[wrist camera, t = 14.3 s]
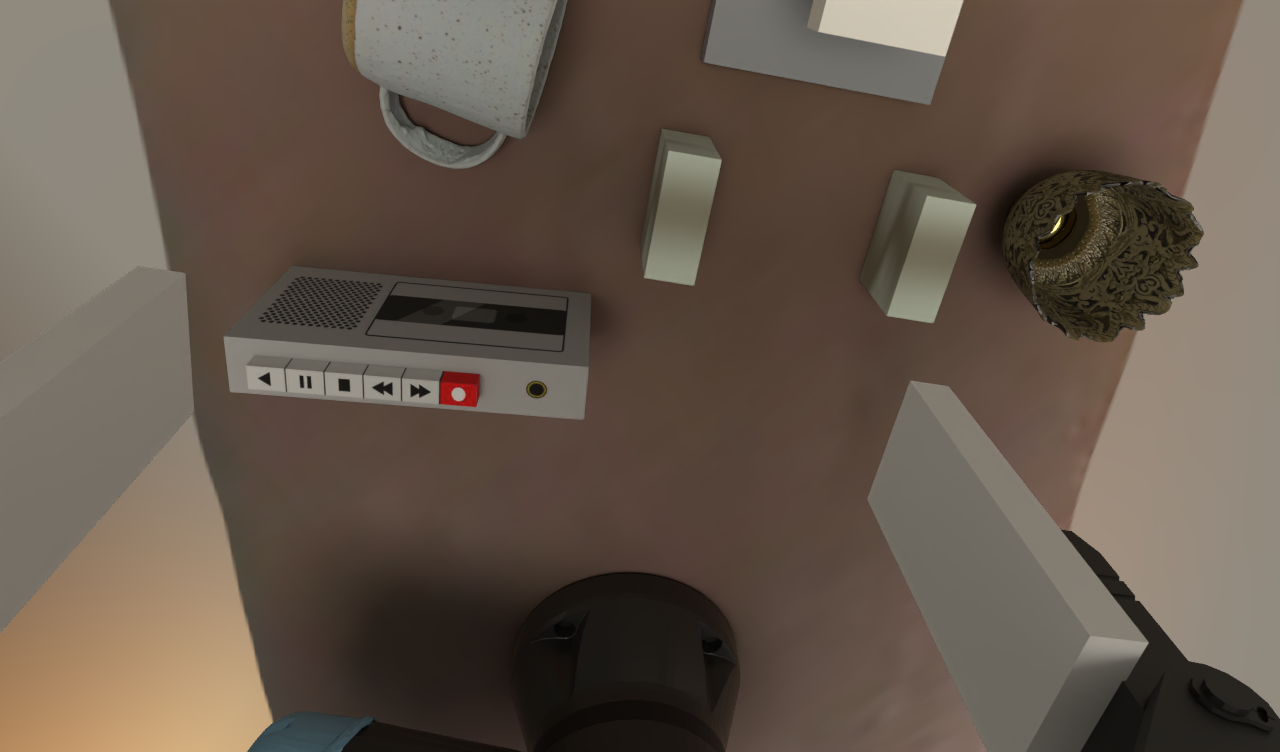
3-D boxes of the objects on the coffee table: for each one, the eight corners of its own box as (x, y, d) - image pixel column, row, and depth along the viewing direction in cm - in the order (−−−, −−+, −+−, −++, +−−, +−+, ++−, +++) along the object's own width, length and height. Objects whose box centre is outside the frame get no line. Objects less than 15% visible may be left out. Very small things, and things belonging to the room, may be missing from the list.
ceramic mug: (396, -106, 37) (348, -113, 30) (579, -43, 38) (572, -37, 31) (359, 132, 41) (310, 173, 35) (523, 180, 43) (507, 228, 36)
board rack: (901, 286, 46) (933, 323, 41) (640, 244, 44) (644, 277, 40) (938, 177, 43) (976, 204, 39) (661, 128, 42) (668, 150, 37)
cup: (1137, 194, 44) (1240, 242, 37) (1035, 305, 47) (1113, 370, 40) (1036, 114, 42) (1124, 148, 35) (935, 235, 45) (999, 290, 38)
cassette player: (591, 292, 45) (588, 377, 37) (586, 338, 47) (583, 431, 38) (292, 265, 44) (213, 346, 35) (295, 312, 45) (221, 402, 36)
